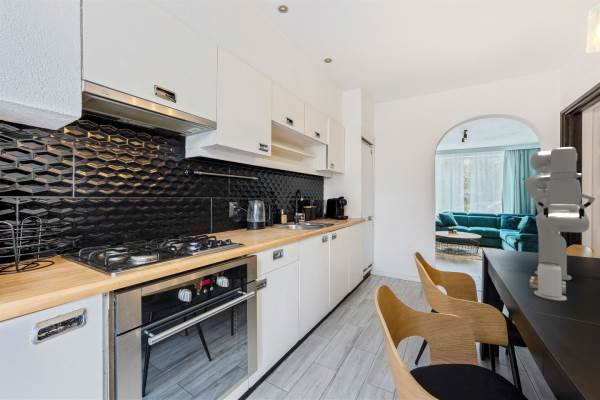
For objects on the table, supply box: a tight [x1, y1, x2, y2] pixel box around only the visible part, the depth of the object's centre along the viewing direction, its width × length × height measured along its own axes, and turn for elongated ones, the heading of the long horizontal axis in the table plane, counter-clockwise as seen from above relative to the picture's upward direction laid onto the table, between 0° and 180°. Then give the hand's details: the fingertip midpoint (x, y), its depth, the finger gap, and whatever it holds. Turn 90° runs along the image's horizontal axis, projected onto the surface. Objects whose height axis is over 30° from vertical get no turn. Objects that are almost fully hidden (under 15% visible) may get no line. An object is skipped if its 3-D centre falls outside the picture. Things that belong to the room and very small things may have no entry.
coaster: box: [533, 289, 568, 302], centre depth 96 cm, size 9×9×1 cm
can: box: [537, 261, 563, 297], centre depth 96 cm, size 6×6×12 cm
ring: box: [529, 275, 567, 295], centre depth 106 cm, size 11×11×2 cm
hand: (563, 217), depth 105 cm, fingers open, 9 cm apart
